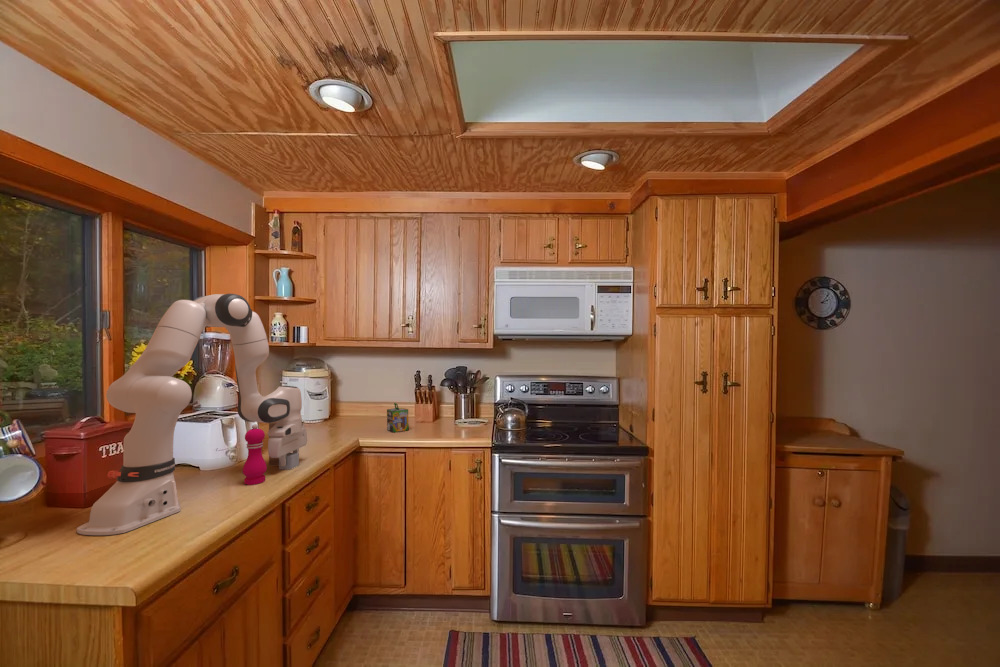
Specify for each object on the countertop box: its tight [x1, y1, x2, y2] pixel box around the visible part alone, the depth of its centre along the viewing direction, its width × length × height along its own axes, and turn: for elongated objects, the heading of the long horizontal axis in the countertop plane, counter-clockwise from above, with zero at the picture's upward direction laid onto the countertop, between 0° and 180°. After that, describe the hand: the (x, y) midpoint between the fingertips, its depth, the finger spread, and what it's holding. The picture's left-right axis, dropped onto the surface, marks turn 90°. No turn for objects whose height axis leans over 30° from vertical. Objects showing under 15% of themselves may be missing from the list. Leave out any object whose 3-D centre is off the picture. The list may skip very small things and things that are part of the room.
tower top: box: [268, 421, 276, 438], centre depth 169 cm, size 6×6×6 cm
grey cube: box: [278, 452, 300, 470], centre depth 163 cm, size 5×5×5 cm
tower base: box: [268, 455, 279, 466], centre depth 168 cm, size 6×6×6 cm
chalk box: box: [386, 402, 410, 434], centre depth 229 cm, size 9×9×15 cm
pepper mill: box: [242, 423, 268, 486], centre depth 146 cm, size 7×7×20 cm
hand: (289, 463), depth 163 cm, fingers closed on grey cube, 5 cm apart
